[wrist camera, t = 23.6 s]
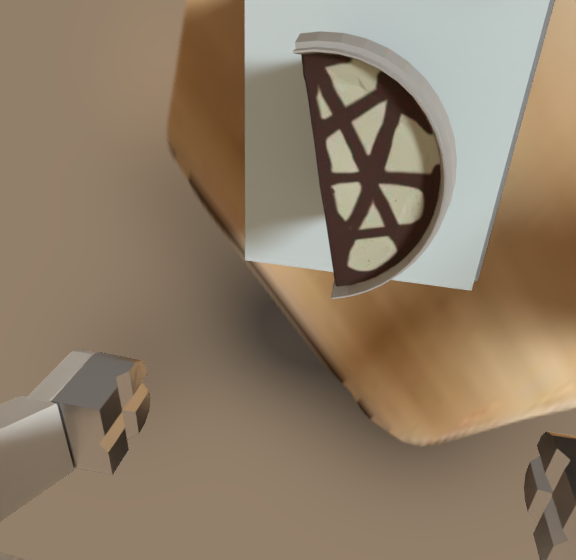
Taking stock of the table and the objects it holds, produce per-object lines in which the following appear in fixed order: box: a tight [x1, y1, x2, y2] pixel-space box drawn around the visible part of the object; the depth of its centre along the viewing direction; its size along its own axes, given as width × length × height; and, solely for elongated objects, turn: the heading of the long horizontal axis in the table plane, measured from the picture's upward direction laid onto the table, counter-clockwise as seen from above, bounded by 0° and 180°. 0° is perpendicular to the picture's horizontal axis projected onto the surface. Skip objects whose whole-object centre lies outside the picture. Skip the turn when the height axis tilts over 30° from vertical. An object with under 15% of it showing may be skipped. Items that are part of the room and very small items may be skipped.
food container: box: [293, 31, 457, 299], centre depth 25 cm, size 12×6×10 cm, turn 10°
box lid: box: [245, 0, 550, 291], centre depth 30 cm, size 16×18×1 cm
